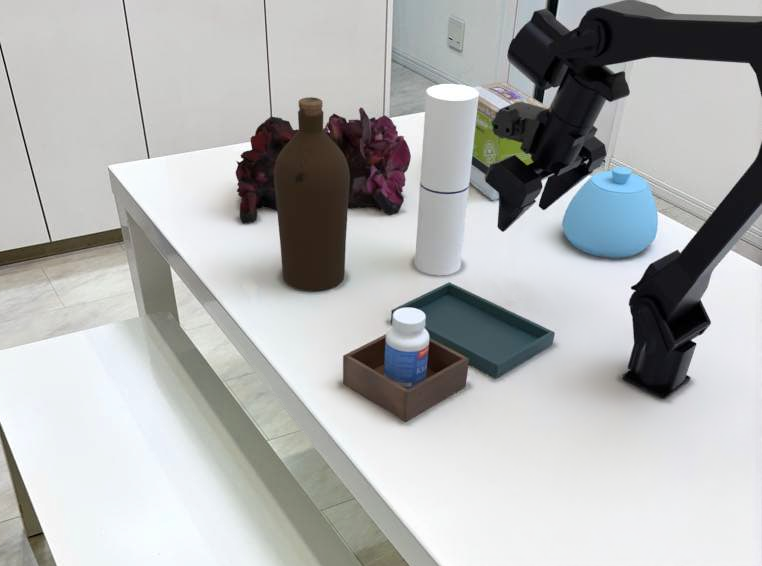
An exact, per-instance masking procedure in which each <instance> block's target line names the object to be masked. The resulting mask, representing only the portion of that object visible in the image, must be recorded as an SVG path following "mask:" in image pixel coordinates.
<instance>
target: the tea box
mask: <svg viewBox="0 0 762 566" xmlns="http://www.w3.org/2000/svg"><path fill="white" fill-rule="evenodd" d="M471 87H472V88H474V89H476V90H477V91H478V92H479V97H478V106H477V116H476V125H475V134H474V144H473V153H472V162H471V172H470V181H469V184H471V185H472V186H473V187H474V188H476V189H477V190H479V191H480V192H481V193H482V194H483V195H484V196H486V197H487V198H488V199H490V200H491V201H499V193H498V192H497V191H496V190H495V189H493V188H492V187H491V186H490V185H489V184H488V183H486V182H485V176H486V173H487V171H488V169H489V166H490V165H491V164H493V163H495V162H497V161H499V160H501V159H504V158H506V157H509V156H513V155H515V156H517V157H518V158H519V159H520V160H521V161H523V162H524V163H525V164H526V165H529V164H531V163H533V161H532V159H531V155H530V154H526V153H524V152H523V151H522V150H521V149H520V147H521V145H522V143H521V142H517V141H514V140H511V139H506V138H503V139H502V138H499V137H498V136H497V135H495V134H494V132H493V126H492V120H494V118H495V116H496V112H498V111H499V109H501V108H504V107H506V106H509V105H511V104H514V103H517V102H524V103H528V104H532V105H535V106H539V107H542V108H545V109H548V108H550V106H547V105H546V104H544V103H542V102H540V101H539V100H537V99H536V98H534V97H532V96H530V95H529V94H527V93H526V92H524V91H522V90H520V89H518V88H517V87H515V86H514V85H512V84H510V83H508V82H506V81H500V82H494V83H487V84H482V85H481V84H480V85H475V86H471Z"/></svg>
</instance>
